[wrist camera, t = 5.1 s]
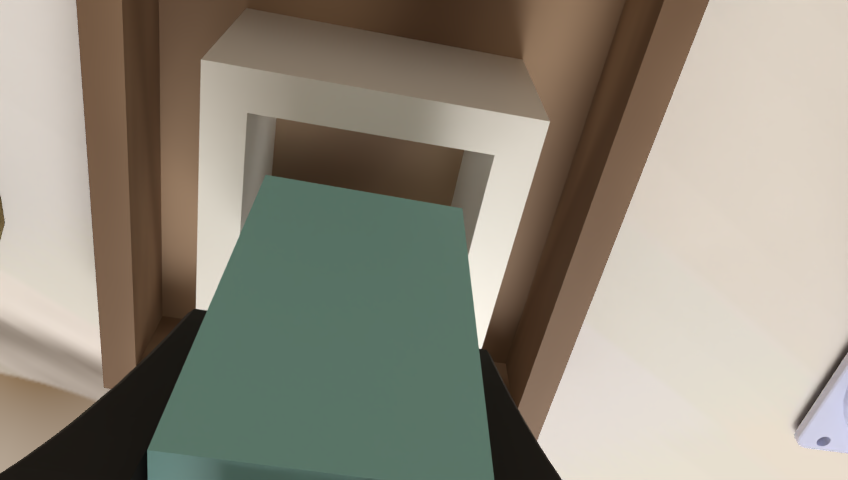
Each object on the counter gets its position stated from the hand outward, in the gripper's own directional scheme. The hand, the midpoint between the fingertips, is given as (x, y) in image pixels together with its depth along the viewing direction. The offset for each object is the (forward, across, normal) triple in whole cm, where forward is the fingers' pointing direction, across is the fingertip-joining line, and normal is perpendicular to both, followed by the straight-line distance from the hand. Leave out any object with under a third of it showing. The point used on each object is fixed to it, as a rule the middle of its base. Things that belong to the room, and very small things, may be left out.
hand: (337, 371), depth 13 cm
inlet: (+9, 0, 0) cm, 9 cm away
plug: (+3, 0, 0) cm, 3 cm away
